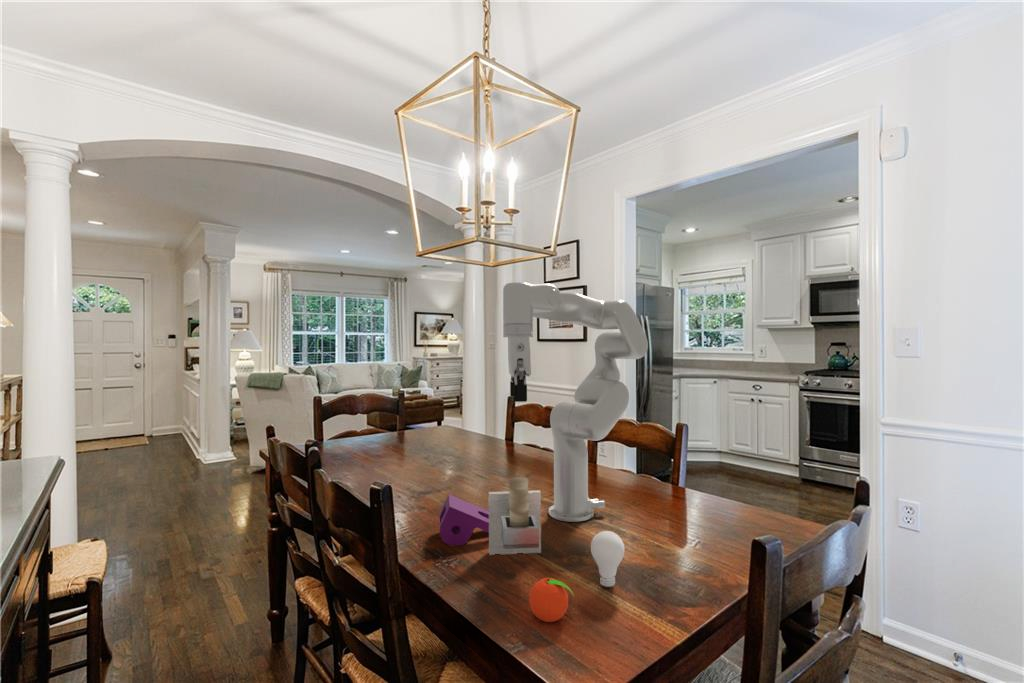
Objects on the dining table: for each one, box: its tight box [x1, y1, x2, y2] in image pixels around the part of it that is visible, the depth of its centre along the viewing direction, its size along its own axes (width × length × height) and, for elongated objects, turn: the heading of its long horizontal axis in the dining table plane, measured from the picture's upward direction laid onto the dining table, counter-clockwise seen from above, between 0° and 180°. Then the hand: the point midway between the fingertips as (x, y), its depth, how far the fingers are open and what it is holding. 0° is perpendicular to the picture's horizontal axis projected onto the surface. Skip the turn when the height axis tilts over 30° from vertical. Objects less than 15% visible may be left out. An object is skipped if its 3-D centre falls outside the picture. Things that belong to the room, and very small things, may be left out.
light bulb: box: [590, 530, 626, 589], centre depth 97 cm, size 7×7×11 cm
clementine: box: [528, 577, 575, 623], centre depth 86 cm, size 8×7×7 cm
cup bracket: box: [488, 489, 542, 556], centre depth 106 cm, size 12×15×14 cm
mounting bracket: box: [439, 494, 489, 546], centre depth 122 cm, size 9×8×18 cm
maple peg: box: [508, 476, 529, 527], centre depth 102 cm, size 4×4×12 cm
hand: (518, 398), depth 123 cm, fingers open, 9 cm apart
